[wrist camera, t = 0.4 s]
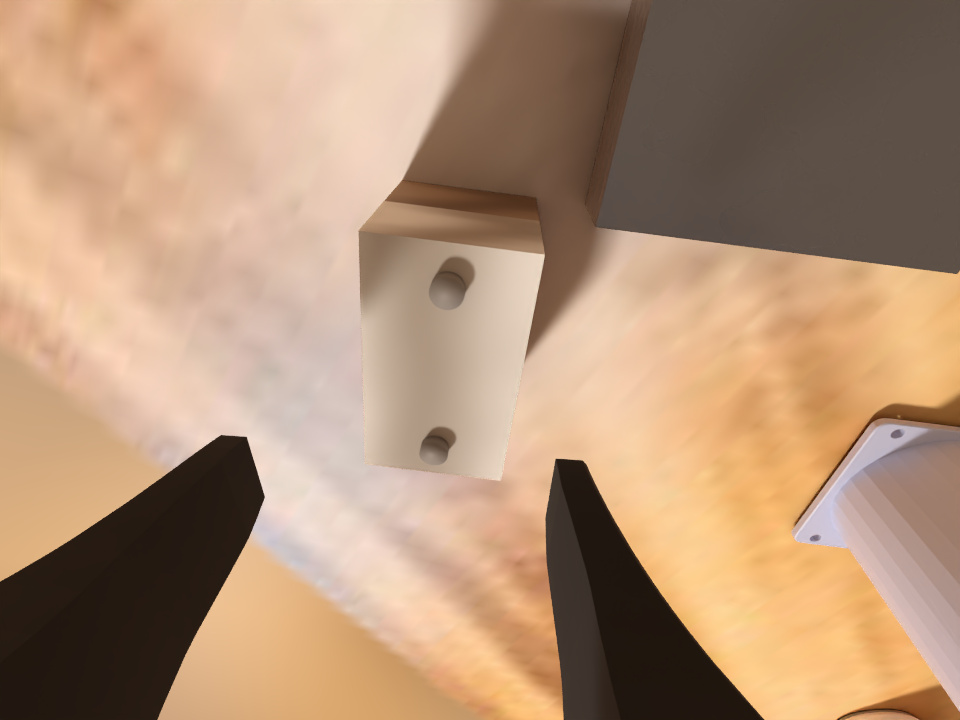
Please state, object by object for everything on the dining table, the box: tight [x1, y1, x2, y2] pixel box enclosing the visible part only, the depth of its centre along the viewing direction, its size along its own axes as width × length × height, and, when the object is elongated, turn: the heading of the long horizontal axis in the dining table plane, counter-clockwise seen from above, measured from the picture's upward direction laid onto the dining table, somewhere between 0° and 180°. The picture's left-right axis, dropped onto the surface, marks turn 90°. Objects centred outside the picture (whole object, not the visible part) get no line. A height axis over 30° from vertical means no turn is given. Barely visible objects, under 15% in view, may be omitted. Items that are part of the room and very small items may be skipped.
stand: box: [585, 0, 960, 274], centre depth 13 cm, size 11×10×2 cm
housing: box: [359, 180, 545, 481], centre depth 16 cm, size 5×8×6 cm, turn 174°
